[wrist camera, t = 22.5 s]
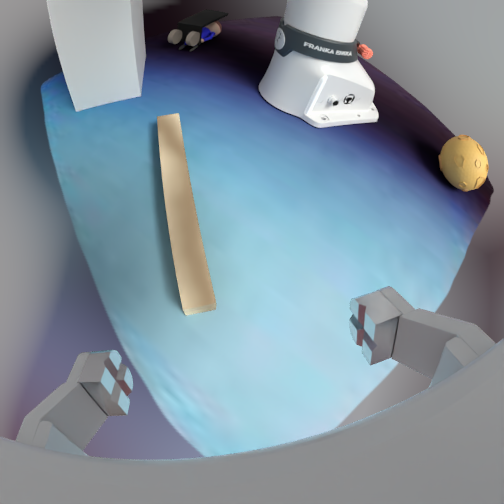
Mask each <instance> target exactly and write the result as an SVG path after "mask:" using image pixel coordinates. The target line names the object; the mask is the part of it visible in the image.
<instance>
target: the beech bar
mask: <svg viewBox="0 0 504 504" xmlns="http://www.w3.org/2000/svg"><path fill="white" fill-rule="evenodd" d="M157 123H158V137H159V150H160V161H161V172H162V181H163V190H164V198H165V206H166V214H167V221H168V228H169V235H170V241H171V248H172V254H173V260H174V266H175V271H176V277H177V282H178V288H179V293H180V298H181V303H182V308H183V311H184V313H185V315H186V316H187V315H192V314H197V313H201V312H206V311H211V310H215V309H216V300H215V296H214V291H213V287H212V283H211V279H210V274H209V270H208V265H207V261H206V256H205V252H204V247H203V243H202V238H201V233H200V228H199V224H198V219H197V214H196V209H195V204H194V199H193V193H192V188H191V183H190V177H189V172H188V166H187V161H186V155H185V149H184V143H183V137H182V131H181V124H180V118H179V113H177V114H170V115H164V116H159V117H157Z"/></svg>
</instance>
